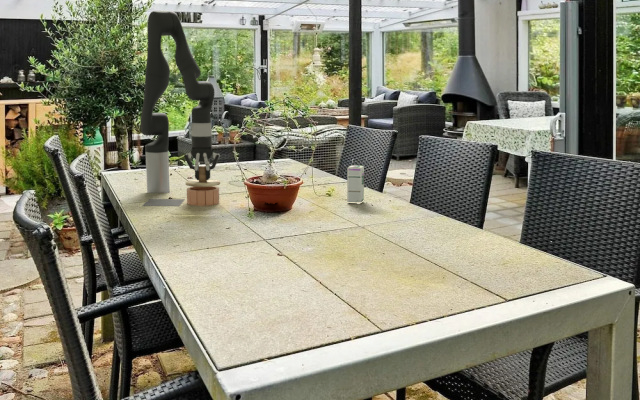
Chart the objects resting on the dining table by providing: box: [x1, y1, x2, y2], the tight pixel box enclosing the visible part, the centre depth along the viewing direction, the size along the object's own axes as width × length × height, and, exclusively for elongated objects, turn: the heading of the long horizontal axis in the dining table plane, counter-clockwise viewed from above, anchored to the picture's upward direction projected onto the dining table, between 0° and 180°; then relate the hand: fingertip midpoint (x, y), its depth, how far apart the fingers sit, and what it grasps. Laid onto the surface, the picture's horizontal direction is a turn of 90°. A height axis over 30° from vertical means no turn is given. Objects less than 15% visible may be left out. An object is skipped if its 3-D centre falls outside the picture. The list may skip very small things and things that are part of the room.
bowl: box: [186, 186, 220, 207], centre depth 248 cm, size 12×12×6 cm
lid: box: [185, 165, 221, 187], centre depth 246 cm, size 13×13×7 cm
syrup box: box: [346, 165, 365, 202], centre depth 252 cm, size 6×6×14 cm
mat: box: [141, 198, 186, 207], centre depth 248 cm, size 14×14×1 cm
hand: (202, 179), depth 247 cm, fingers closed on lid, 3 cm apart
